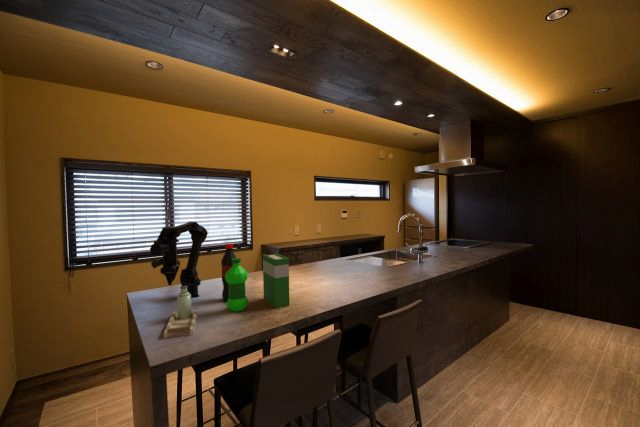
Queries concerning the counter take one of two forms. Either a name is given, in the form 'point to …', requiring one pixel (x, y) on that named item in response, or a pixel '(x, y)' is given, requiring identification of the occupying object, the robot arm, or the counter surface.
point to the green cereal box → (276, 280)
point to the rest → (180, 325)
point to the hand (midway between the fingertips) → (171, 282)
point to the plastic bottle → (236, 286)
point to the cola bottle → (226, 268)
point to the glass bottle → (184, 303)
